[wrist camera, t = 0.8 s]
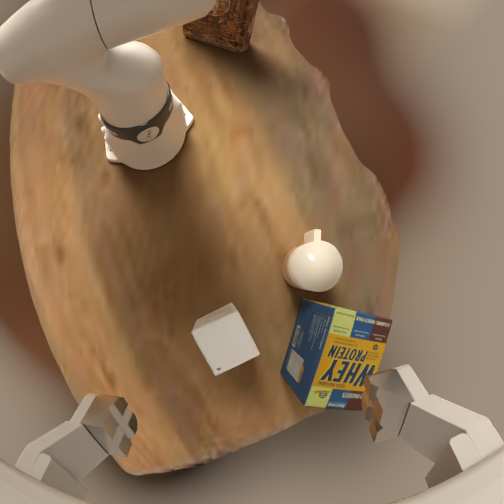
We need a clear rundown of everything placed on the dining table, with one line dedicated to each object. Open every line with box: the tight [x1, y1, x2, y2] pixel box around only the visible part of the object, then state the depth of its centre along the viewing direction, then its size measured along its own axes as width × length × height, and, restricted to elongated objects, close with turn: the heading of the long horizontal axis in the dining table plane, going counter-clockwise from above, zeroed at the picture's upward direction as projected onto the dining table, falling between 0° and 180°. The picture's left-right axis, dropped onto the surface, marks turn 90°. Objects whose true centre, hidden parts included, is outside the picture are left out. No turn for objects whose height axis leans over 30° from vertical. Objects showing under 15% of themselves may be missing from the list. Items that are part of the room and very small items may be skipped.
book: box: [183, 0, 259, 54], centre depth 41 cm, size 16×6×25 cm, turn 64°
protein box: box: [281, 298, 392, 411], centre depth 44 cm, size 10×15×16 cm
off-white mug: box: [282, 229, 343, 292], centre depth 48 cm, size 10×8×9 cm
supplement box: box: [191, 302, 260, 376], centre depth 43 cm, size 7×7×13 cm
